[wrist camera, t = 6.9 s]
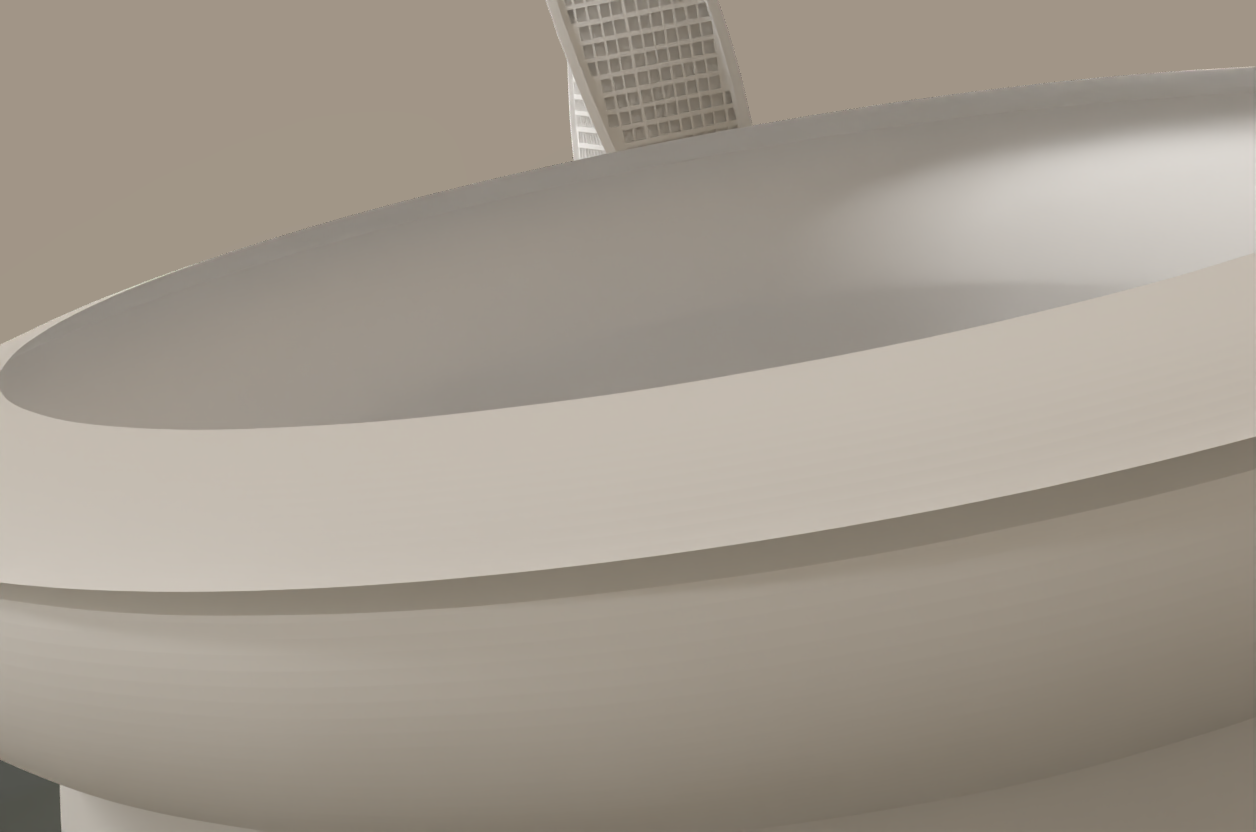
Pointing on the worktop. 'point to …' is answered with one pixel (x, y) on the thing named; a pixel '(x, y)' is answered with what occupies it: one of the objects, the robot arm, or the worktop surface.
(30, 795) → the worktop surface
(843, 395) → the jar
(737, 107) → the skyscraper
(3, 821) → the worktop surface
